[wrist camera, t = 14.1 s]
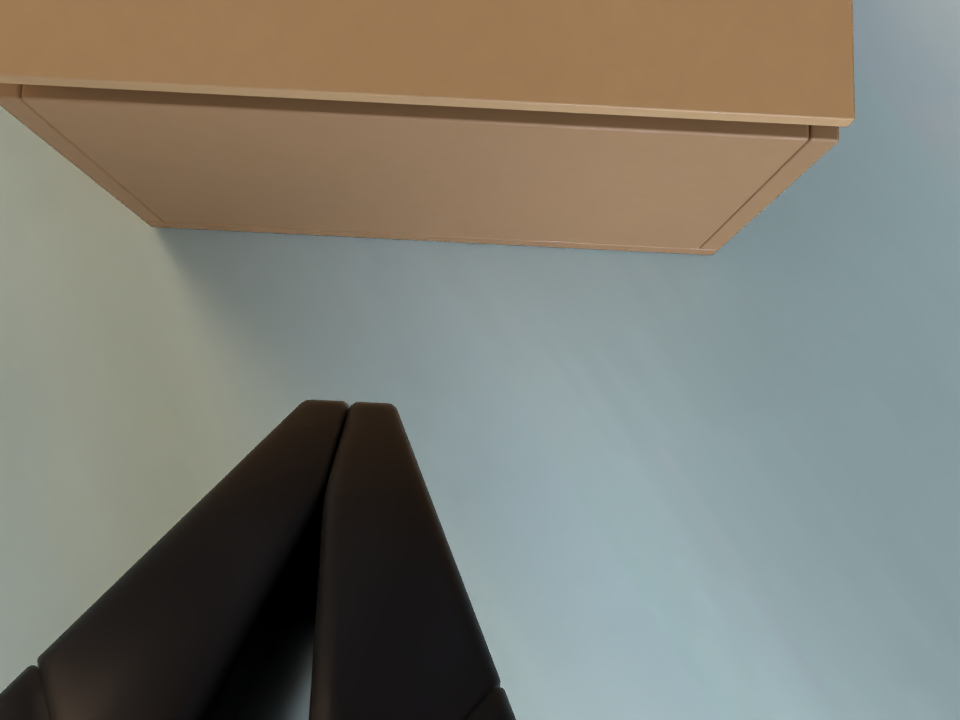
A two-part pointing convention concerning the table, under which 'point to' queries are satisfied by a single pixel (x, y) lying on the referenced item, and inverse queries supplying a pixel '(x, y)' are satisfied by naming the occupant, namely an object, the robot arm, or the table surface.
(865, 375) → the table surface
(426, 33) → the flap
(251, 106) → the carton
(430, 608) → the robot arm
